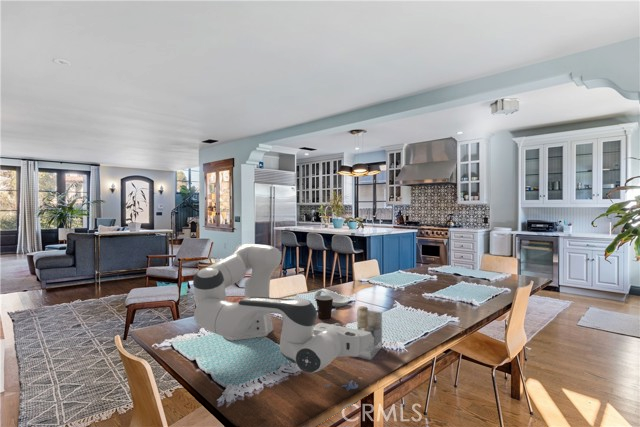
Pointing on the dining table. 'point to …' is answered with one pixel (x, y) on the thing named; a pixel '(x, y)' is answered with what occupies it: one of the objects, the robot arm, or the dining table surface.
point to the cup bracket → (373, 334)
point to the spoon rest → (334, 298)
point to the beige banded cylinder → (363, 318)
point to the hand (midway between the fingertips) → (350, 327)
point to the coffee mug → (324, 306)
